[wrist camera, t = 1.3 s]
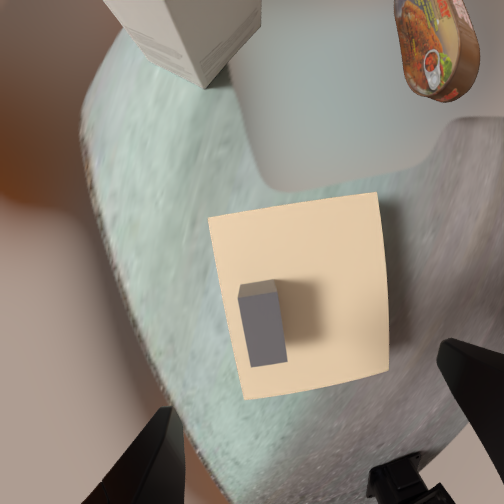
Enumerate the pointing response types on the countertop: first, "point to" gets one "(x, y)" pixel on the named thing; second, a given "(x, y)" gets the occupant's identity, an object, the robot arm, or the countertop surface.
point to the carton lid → (304, 293)
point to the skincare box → (189, 32)
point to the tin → (437, 47)
